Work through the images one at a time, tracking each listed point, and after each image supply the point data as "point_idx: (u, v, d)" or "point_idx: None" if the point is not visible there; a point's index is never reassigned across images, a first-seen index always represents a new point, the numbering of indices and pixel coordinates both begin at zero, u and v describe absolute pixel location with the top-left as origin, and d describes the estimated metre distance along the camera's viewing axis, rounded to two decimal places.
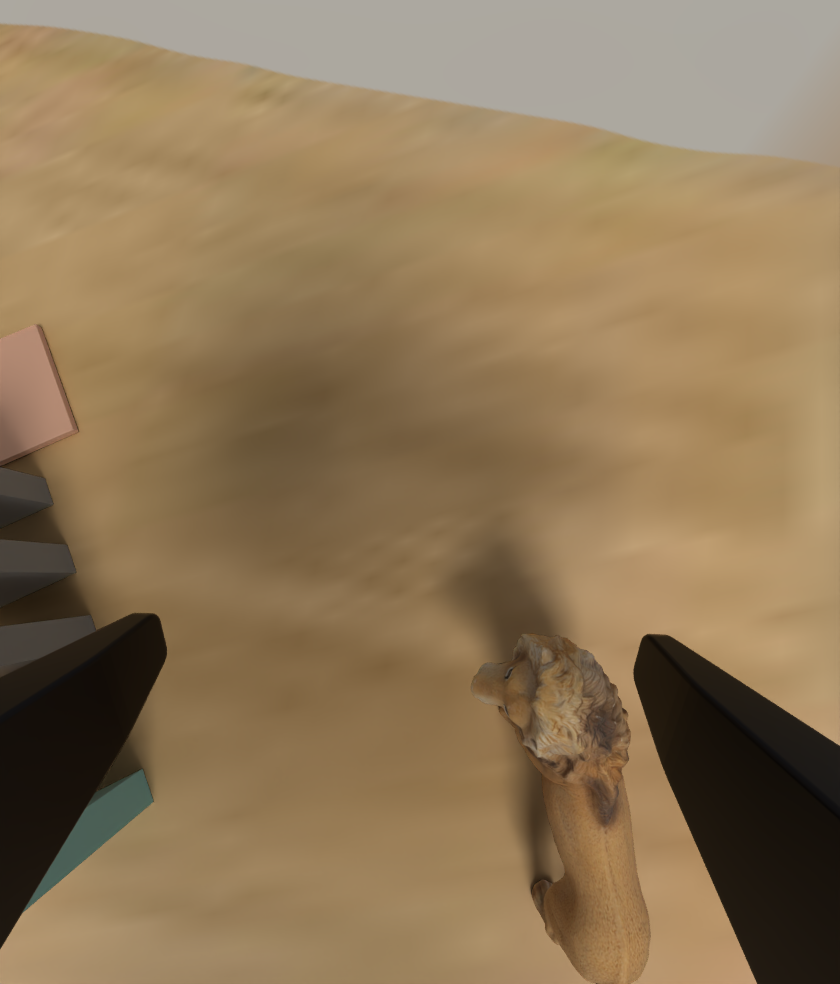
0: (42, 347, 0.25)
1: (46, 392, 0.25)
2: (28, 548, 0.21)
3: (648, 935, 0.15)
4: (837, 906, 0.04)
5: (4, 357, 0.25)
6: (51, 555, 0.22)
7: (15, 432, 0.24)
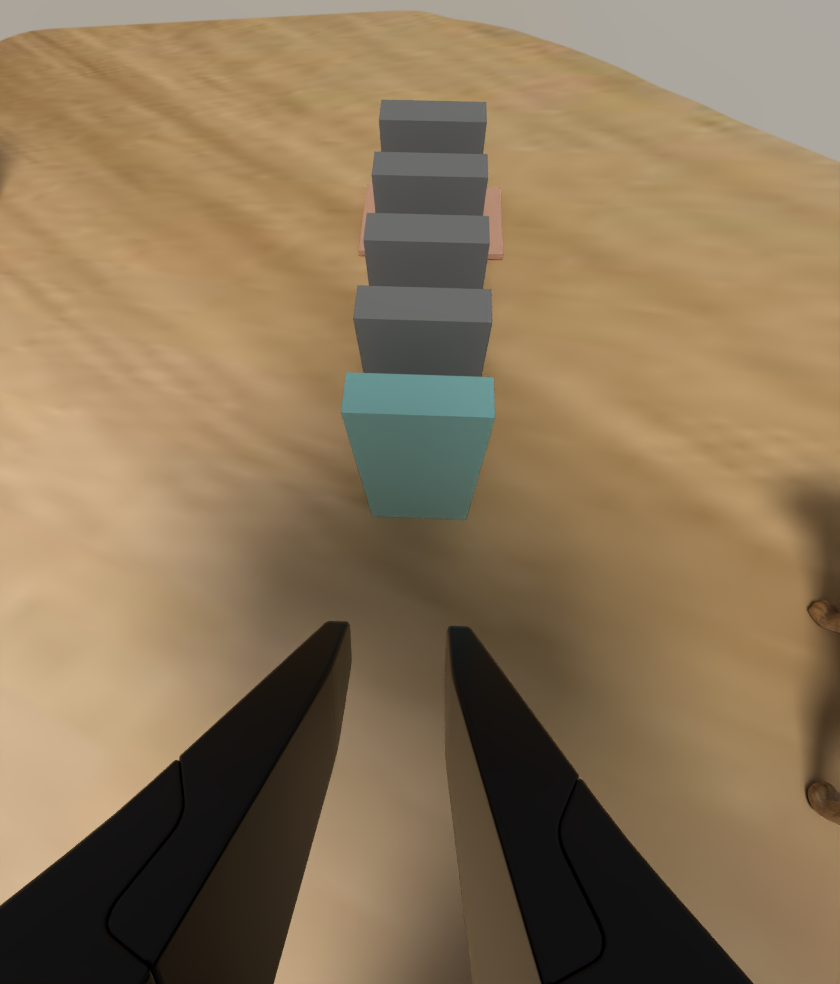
0: (499, 202, 0.33)
1: (492, 227, 0.32)
2: None
3: None
4: (489, 888, 0.05)
5: None
6: None
7: None
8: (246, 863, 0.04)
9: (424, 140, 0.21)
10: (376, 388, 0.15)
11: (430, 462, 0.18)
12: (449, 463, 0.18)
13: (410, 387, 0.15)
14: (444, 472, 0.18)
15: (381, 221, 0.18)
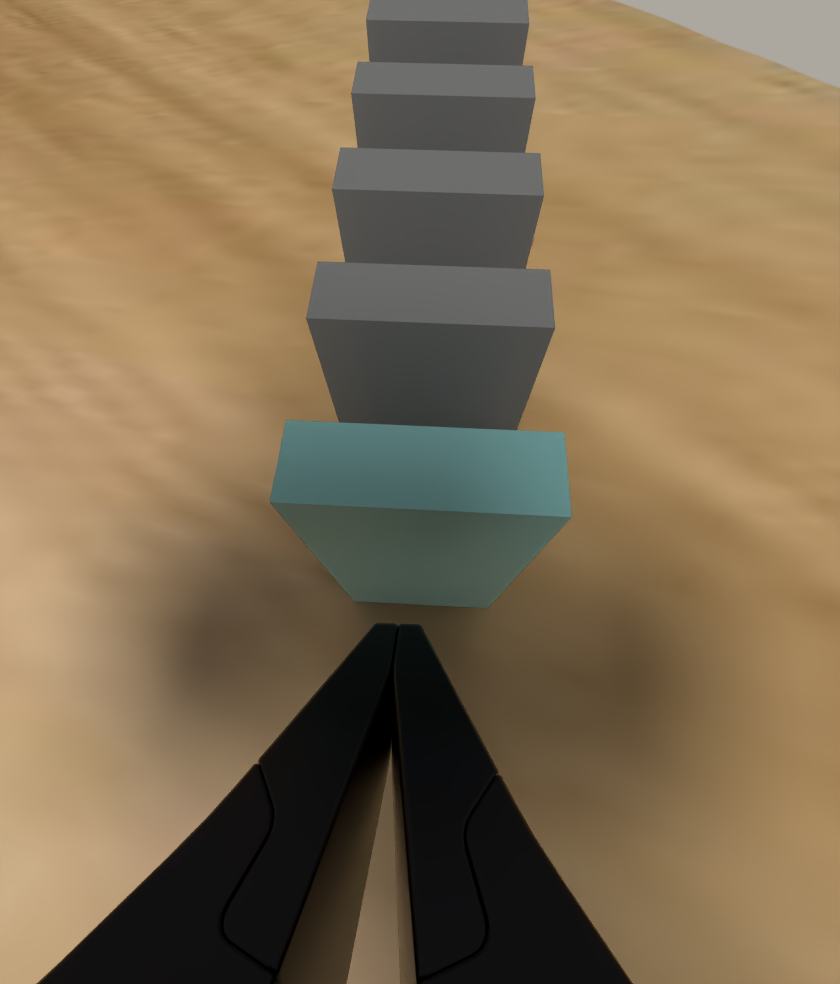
0: None
1: None
2: None
3: None
4: (403, 884, 0.05)
5: None
6: None
7: None
8: (334, 868, 0.04)
9: (434, 55, 0.14)
10: (341, 453, 0.08)
11: (439, 561, 0.10)
12: (472, 563, 0.10)
13: (406, 451, 0.08)
14: (461, 571, 0.11)
15: (363, 160, 0.11)
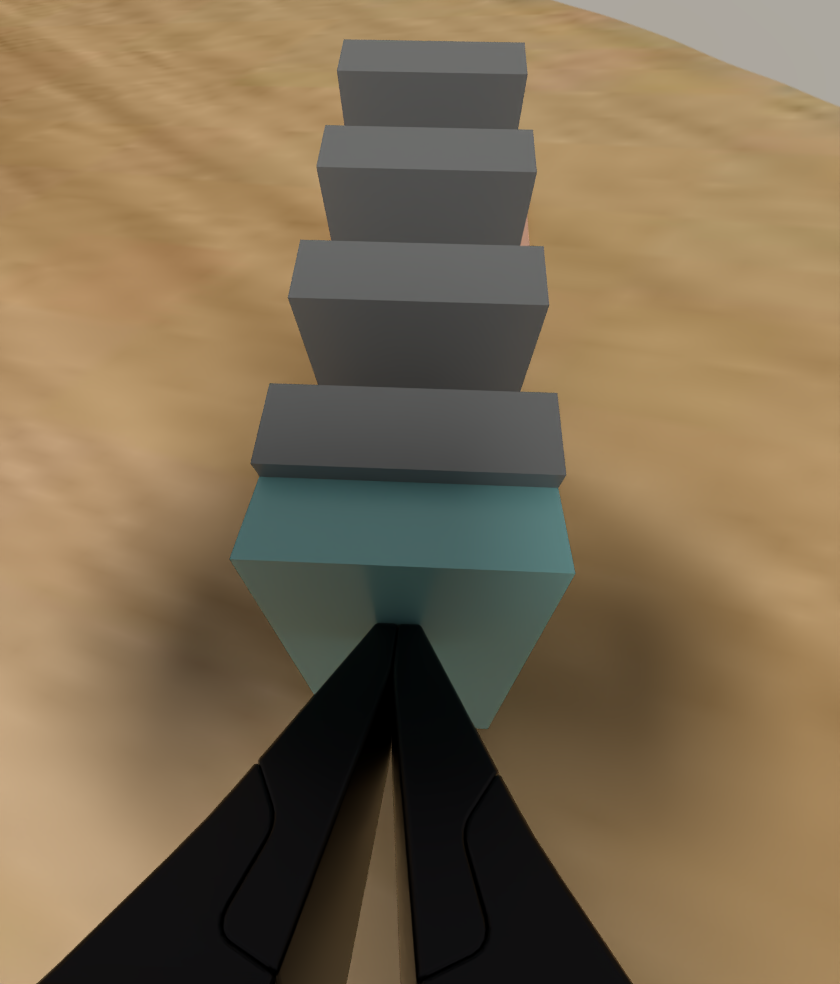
0: None
1: None
2: None
3: None
4: (403, 884, 0.05)
5: None
6: None
7: None
8: (334, 868, 0.04)
9: (417, 109, 0.12)
10: (316, 508, 0.07)
11: None
12: (466, 654, 0.09)
13: (387, 506, 0.07)
14: (454, 666, 0.10)
15: (328, 257, 0.09)
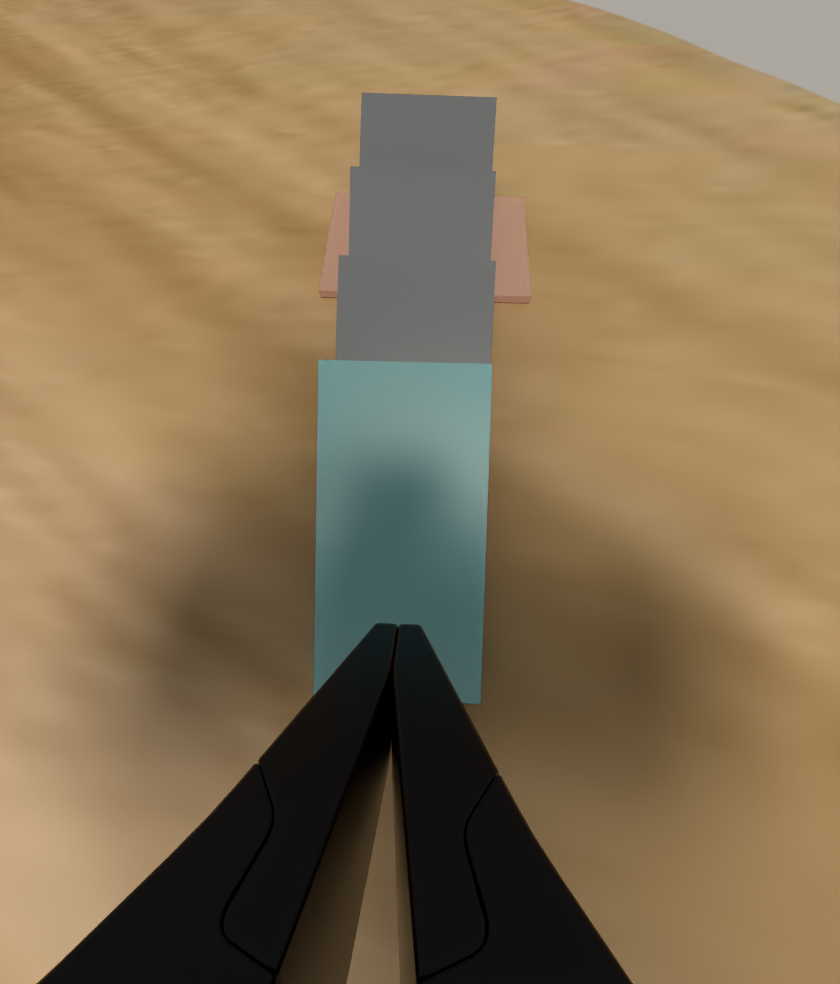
0: (522, 217, 0.23)
1: (514, 255, 0.22)
2: None
3: None
4: (403, 883, 0.05)
5: None
6: None
7: None
8: (334, 868, 0.04)
9: None
10: None
11: (418, 480, 0.13)
12: (445, 483, 0.13)
13: None
14: (438, 510, 0.13)
15: None
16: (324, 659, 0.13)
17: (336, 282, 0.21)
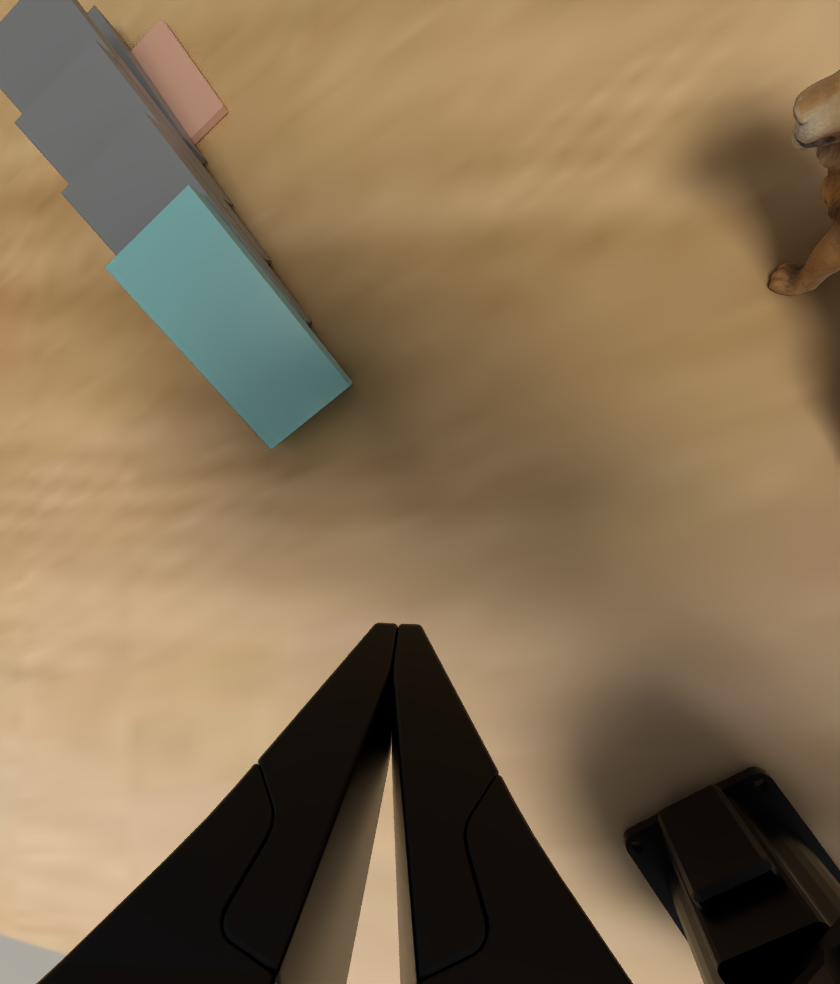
0: (174, 39, 0.25)
1: (190, 80, 0.24)
2: (195, 156, 0.23)
3: None
4: (403, 883, 0.05)
5: (144, 62, 0.25)
6: (211, 179, 0.23)
7: None
8: (334, 868, 0.04)
9: None
10: None
11: (214, 291, 0.19)
12: (228, 280, 0.19)
13: None
14: (238, 299, 0.19)
15: None
16: (258, 426, 0.21)
17: None
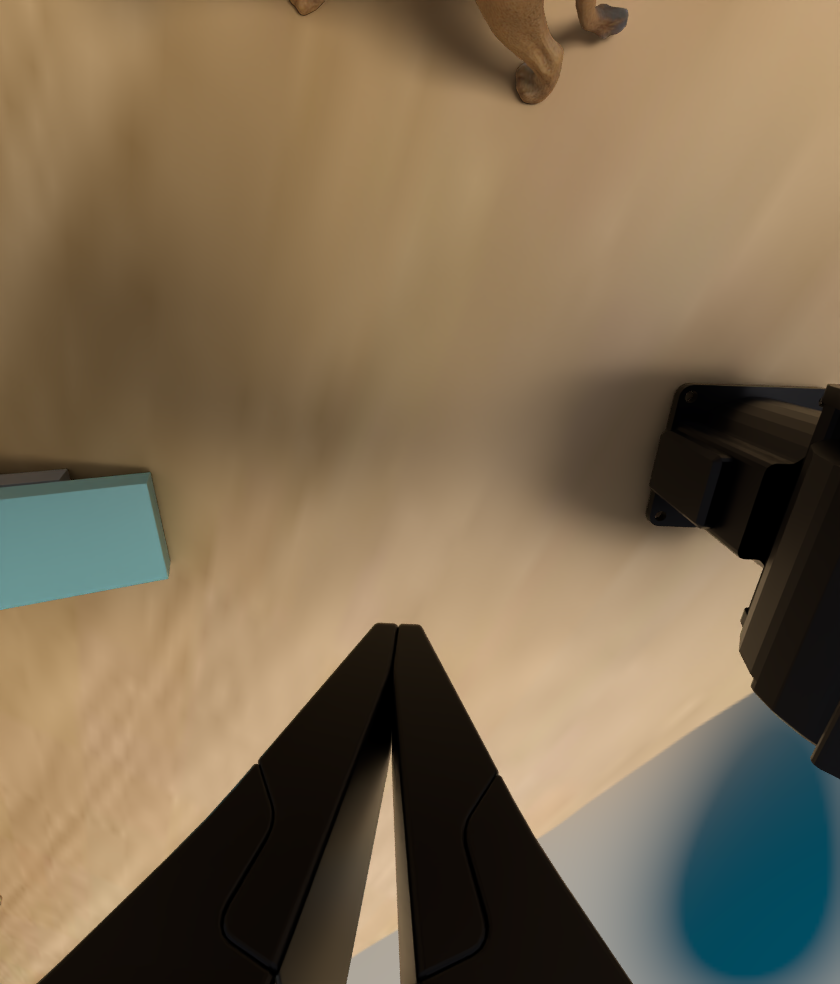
0: None
1: None
2: None
3: None
4: (403, 883, 0.05)
5: None
6: None
7: None
8: (334, 868, 0.04)
9: None
10: None
11: None
12: None
13: None
14: None
15: None
16: (138, 578, 0.21)
17: None
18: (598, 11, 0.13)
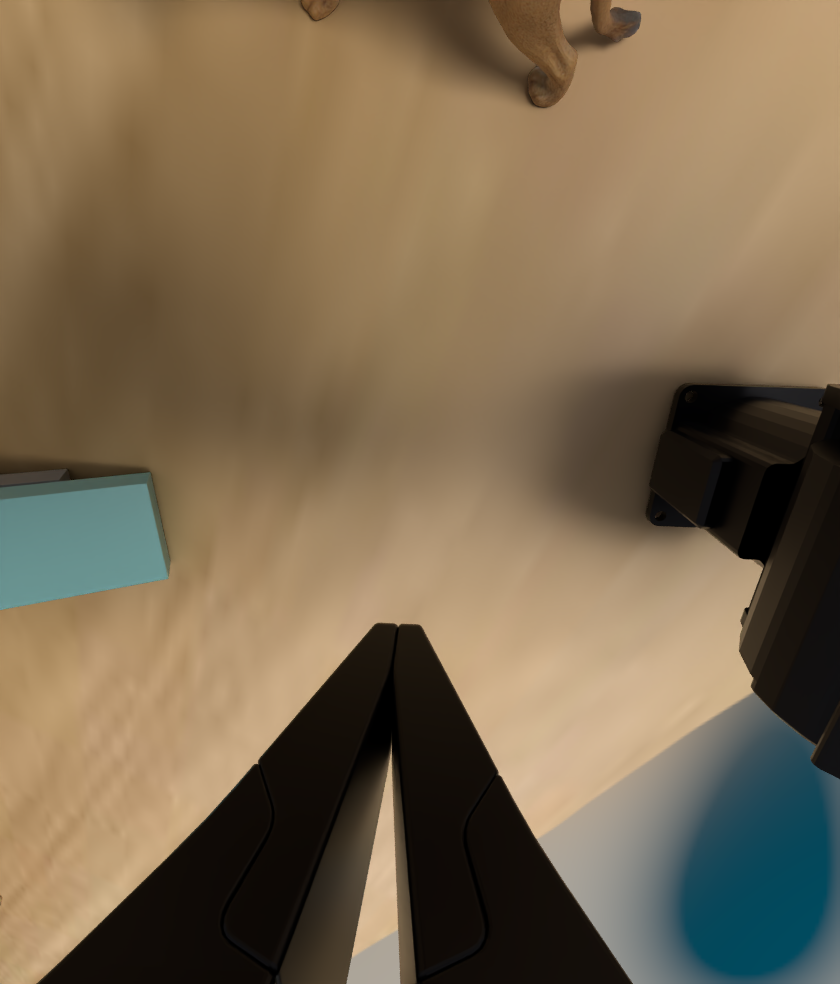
0: None
1: None
2: None
3: None
4: (403, 883, 0.05)
5: None
6: None
7: None
8: (334, 868, 0.04)
9: None
10: None
11: None
12: None
13: None
14: None
15: None
16: (138, 578, 0.21)
17: None
18: (612, 15, 0.13)
